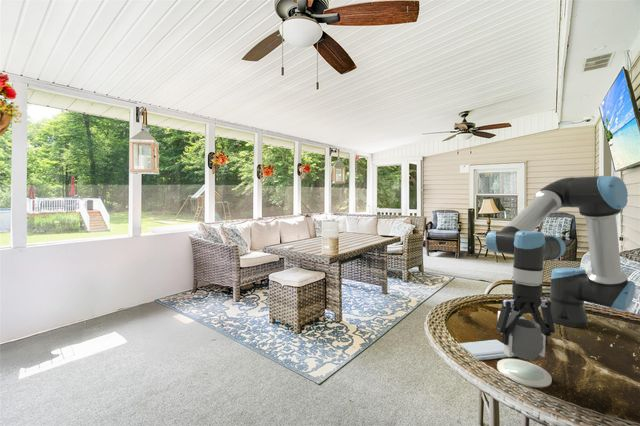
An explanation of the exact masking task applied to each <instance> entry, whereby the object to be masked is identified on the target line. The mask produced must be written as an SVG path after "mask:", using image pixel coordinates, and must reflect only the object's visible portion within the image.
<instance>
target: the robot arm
mask: <svg viewBox="0 0 640 426" xmlns="http://www.w3.org/2000/svg"><path fill="white" fill-rule="evenodd" d="M628 196H629V194H628V188H627V185H626V182H624V180H623V179H622V178H620V177H618V176H615V175H612V176H611V175H609V176H608V175H599V176H598V175H596V176H579V177H573V176H571V177H565V178H564V177H563V178H561V179H558V180H555V181H553V182H551V183H549V184H547V185H546V186H544V187H542V188H541V189H539V190H538V191H537V192H536V193H535V194H534V196H533V200H532V201H530V203H529V204H528V205H526V206H525V207H524V208H523V209H522V210H521V211H520V212H519V213H518V214H516V216H515V217H514V218H513V219H512V220H510V221H509V222H508V223H507V224H506V225H505V226H504V227H503V228H502V229H501V230H500V231H498V230H490V231H489V232H488V233H487V234H486V237H485V240H484V242H485V243H484V244H485V247H486V248H487V250H489V251H490V252H495V253H499V254H505V255H512V256H513V266H512V267H513V268H512V279H513V281H512V285H511V286H512V287H511V291H512V297H511V299H505V298H503V299H501V308H500V311H501V312H500V315H499V318H498V317H497V321H496V326H495V330H496V331H498V333H500V334H501V333H502V334H501V343H503V344H504V353H505V354H506V355H507V356H509V357H508V358H513V356H512V338H513V336H512V335H511V334H510V333H511V332H512V330H513V328H514V326H515V325H516V323H517V321H518V320H519V318H520V317H521V316H523V315H525V314H529V315H531V316H532V318H533V321H534V322H536V323H538V324H539V325H540V326H541V333H542V339H543V346H544V347H543V350H542V351H541V353H540V354H539V355H538V356H540V357H542V358H545V356H546V346H547V345H548V339H549V337H551V336H552V334H554V333H555V332H556V328H555V324H559V325H561V326H567V327H573V328H586V327H588V326H589V318H588V315H587V311H586V309H585V307H584V306H585V302H586V303H590V304H594V305H598V306H601V307H605V308H610V309H616V310H620V311H625V310H627V309H629V307H630V306H631V304H632V303H633V300H634V297H635V293H636V283H635V282H634V281H632V280H628V275H627V273H626V272H625V271H622V267H621V266H622V265H621V256H620V255H621V254H620V245H619V236H618V235H619V234H618V223H617V216H618V215H619V214H620V213H621V212H622V209H625V208H626V206H627V204H628ZM560 208H575V209H577V208H578V212H579V215H581V216H582V217H584V218H585V219H584V220H585V226H586V227H585V228H586V235H587V242H588V244H587V245H588V250H589V251H588V252H589V260H590V267H591V270H589V271H586V269H584V268H580V267H557V268H554V269H552V271H551V275H550V290H549V291H550V292H549V293H550V294H549V295H550V296H549V300H547V299H545V298H542V297H543V285H542V284H543V283H544V262H546V261H553V260H557V259H559V258H561V257H562V256H563V255H564V254H565V252H566V249H567V248H566V244H565V242H564V240H563V239H562V238H560V237H558V236H555V235H545V234H544V233H543V232H542V231H537V230H536V231H535V229H537V228H538V227H539V226H540V225H541V224H542V223H543V221H545V220H546V218H548V217H549V216H550V214H551V213H555V212H557V211H558V210H560ZM541 298H542V299H541ZM512 304H513V305H514V306H513V308H512V310H511V307H512ZM539 307H540V310H541V311H540V310H539ZM510 311H511V314H510ZM517 311H519V312H517Z"/></svg>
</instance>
